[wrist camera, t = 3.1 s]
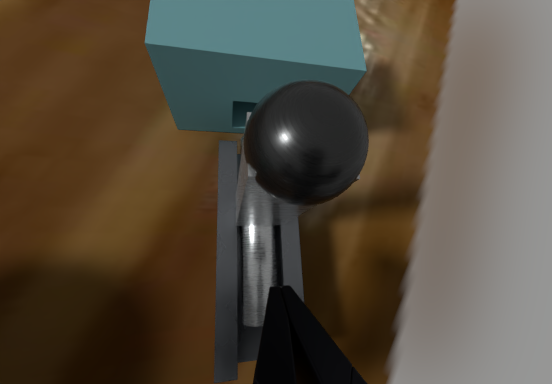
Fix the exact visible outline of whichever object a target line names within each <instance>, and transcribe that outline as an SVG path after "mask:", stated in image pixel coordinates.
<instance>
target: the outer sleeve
mask: <svg viewBox="0 0 552 384" xmlns="http://www.w3.org/2000/svg"><path fill="white" fill-rule="evenodd" d="M240 161H241V154H237V141H219V168H218V217H217V267H216V317H215V367H214V383H218V382H225V381H231V380H237V363H239V362H246V361H253V360H257V357H258V351H259V345H260V339H261V333H262V327H263V326H259V327H252V326H246V325H243V324H242V254H241V226H236V191H237V183H238V176H239V168H240ZM274 227H275V249H276V271H277V286H279V287H280V286H283V285H290V286H291V287H292V288H293V290H294V291H295V292H296V293H297V295H298V296H299V297H300V299H301V300H302V301H303V302H304V293H303V280H302V266H301V252H300V239H299V225H298V217H296V218H294V219H293V220H291V221H289V222H288V223H286V224H284V225H274Z"/></svg>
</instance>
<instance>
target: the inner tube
mask: <svg viewBox="0 0 552 384" xmlns="http://www.w3.org/2000/svg"><path fill="white" fill-rule="evenodd" d="M368 143H369V139H368V129H367V125H366V121H365V119H364V116H363V114H362V112H361V110H360V108H359V107H358V105H357V104H356V102H355V101H354V100H353V99H352V98H351V97H350V96H349V95H348V94H347V93H346V92H345V91H343V90H342V89H340V88H339V87H337V86H335V85H333V84H331V83H328V82H325V81H321V80H316V79H299V80H294V81H291V82H288V83H285V84H282V85H280V86H278V87H276V88H275V89H273V90H272V91H270V92H269V93H267V94H266V95H265V96H264V97H263V98H262V99H261V100H260V101H259V103H258V104H257V105H256V106H255V108H254V110H253V111H252V112H247V116H246V123H245V131H244V136H243V137H242V138H241V161H240V168H239V176H238V183H237V191H236V226H241V254H242V324H243V325H246V326H252V327H259V326H263V322H264V316H265V310H266V304H267V298H268V293H269V288H270V287H271V286H277V271H276V249H275V227H274V225H284V224H286V223H288V222H289V221H291V220H293V219H294V218H296V217H298V216H299V215H301V214H303V213H304V212H306V211H308V210H309V209H311V208H312V207H314V206H316V205H317V204H321V203H324V202H327V201H329V200H332V199H334V198H335V197H337V196H339V195H340V194H341V193H343V192H344V191H345V190H347V189H348V188H349V187H350V186H351V185H352V184H353V183H354V182H355V181H357V180H359V179H360V176H359V174H360V172H361V170H362V168H363V166H364V163H365V160H366V157H367V152H368Z"/></svg>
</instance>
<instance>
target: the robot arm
mask: <svg viewBox="0 0 552 384" xmlns="http://www.w3.org/2000/svg"><path fill="white" fill-rule="evenodd" d="M253 384H367V383H366V382H365V380H364V379H363V378H362V377H361V375H360V374H359V373H358V372H357V370H356V369H355V368H354V367H352V364H351V363H350V361H349V360H348V359H347V358H346V356H345V355H344V354H343V352H342V351H341V350H340V349H339V347H338V346H337V345H336V343H335V342H334V341H333V340H332V338H331V337H330V336H329V334H328V333H327V332H326V331H325V329H324V328H323V327H322V325H321V324H320V323H319V322H318V320H317V319H316V318H315V317H314V315H313V314H312V313H311V311H310V310H309V309H308V308H307V306H306V305H305V304H304V302H303V301H302V300H301V299H300V297H299V296H298V295H297V293H296V292H295V291H294V290H293V288H292V287H291V286H290V285H283V286H280V287H279V286H271V287H270V288H269V293H268V298H267V304H266V310H265V316H264V322H263V327H262V333H261V339H260V345H259V351H258V357H257V362H256V368H255V374H254V380H253Z"/></svg>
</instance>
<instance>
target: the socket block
mask: <svg viewBox="0 0 552 384" xmlns="http://www.w3.org/2000/svg"><path fill="white" fill-rule="evenodd" d="M145 45H146V48H147V50H148V53H149V55H150V58H151V61H152V63H153V66H154V68H155V71H156V74H157V76H158V79H159V82H160V84H161V87H162V89H163V92H164V95H165V97H166V100H167V102H168V105H169V108H170V110H171V113H172V116H173V118H174V121H175V123H176V126H177V129H181V130H198V131H215V132H232V133H244V131H245V123H246V116H247V112H252V111H253V110H254V108H255V106H256V105H257V104H258V103H259V101H260V100H261V99H262V98H263V97H264V96H265V95H266V94H267V93H269V92H270V91H272V90H273V89H275V88H276V87H278V86H280V85H282V84H285V83H288V82H291V81H294V80H299V79H316V80H321V81H325V82H328V83H331V84H333V85H335V86H337V87H339V88H340V89H342V90H343V91H345V92H346V93H347V94H348V95H349V94H350V93H351V91H352V90H353V89H354V87H355V86H356V85H357V83H358V82H359V81H360V79H361V78H362V77H363V75H364V74H365V72H366V71H367V70H366V65H365V59H364V54H363V48H362V43H361V38H360V32H359V27H358V21H357V16H356V10H355V5H354V0H150V7H149V15H148V22H147V30H146V37H145Z"/></svg>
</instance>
